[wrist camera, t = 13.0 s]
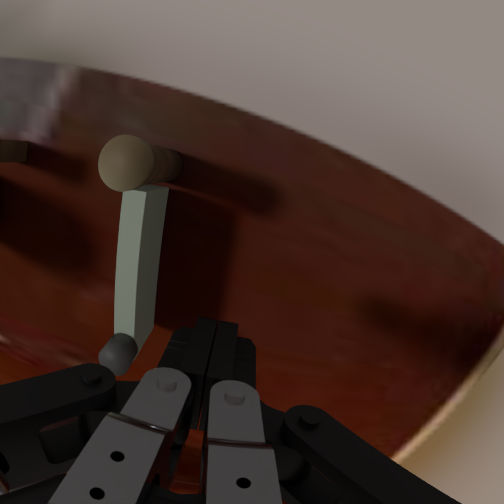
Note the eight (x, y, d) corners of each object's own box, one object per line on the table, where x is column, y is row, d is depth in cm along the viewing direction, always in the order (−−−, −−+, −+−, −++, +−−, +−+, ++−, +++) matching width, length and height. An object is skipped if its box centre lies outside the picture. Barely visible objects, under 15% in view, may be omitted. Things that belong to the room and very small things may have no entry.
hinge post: (181, 186, 23) (144, 195, 15) (146, 181, 23) (94, 187, 14) (188, 149, 22) (154, 137, 14) (152, 144, 22) (103, 132, 14)
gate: (173, 188, 22) (139, 195, 15) (156, 328, 24) (128, 378, 18) (146, 184, 22) (103, 190, 15) (133, 322, 24) (99, 370, 17)
